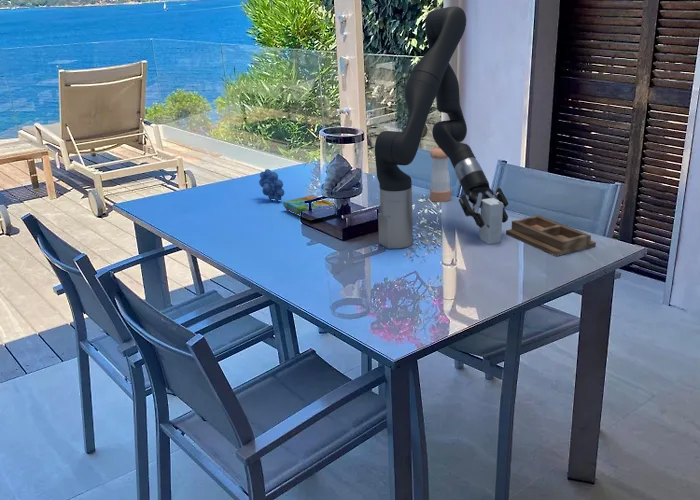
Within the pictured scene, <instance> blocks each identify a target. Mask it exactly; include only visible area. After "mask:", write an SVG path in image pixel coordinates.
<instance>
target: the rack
mask: <svg viewBox="0 0 700 500" xmlns="http://www.w3.org/2000/svg"><path fill="white" fill-rule="evenodd" d="M505 231H506V232H505V235H507V236H510V237H512V238H514V239H516V240H518V241H521V242H523V243H525V244H527V245H530V246H532V247H534V248H536V249H538V248H539V249H538V250H540V249H541V250H540V251H543V252H545V251H546V252H545V253H547V252H549V253H551V254H550V255H552V254H553V255H552V256H554V255H555V257H559V256H558V255H560V256H564V255H567V254H566V253H568V254H571V253H570V252H572V253H575V252H574V251H576V252H579V251H578V250H580V251H583V250H582V249H584V250H587V249H586V248H588V249H591V248H590V247H592V248H595V247H594V246H597V245H596V244H597V241H593V240H592V239H591V238H592V235H591V234H589V233H586V232H583V231H581V230H578V229H575V228H573V227H570V226H567V225H565V224H562V223H560V222H556V221H555V220H552V219H549V218H547V217H544V216H542V215H534V216H529V217H525V218H521V219H517V220H512V221H511V228H510V229H507V230H505ZM549 253H548V254H549ZM563 254H564V255H563Z"/></svg>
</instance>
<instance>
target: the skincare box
mask: <svg viewBox="0 0 700 500" xmlns="http://www.w3.org/2000/svg"><path fill="white" fill-rule="evenodd" d="M481 203H482V206H481V208H480V215H481V217H482V219H483V221H484V226H483V227H481V228H479V239H480V240H481V241H483V242H484V243H485V244H487V245H495V244H499V243H502V230H503V229H502V228H503V222H502V216H503V203H501V202H500V201H499V200H496V199H494V198H489V199H483V200H481Z"/></svg>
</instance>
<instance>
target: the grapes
mask: <svg viewBox="0 0 700 500" xmlns="http://www.w3.org/2000/svg"><path fill="white" fill-rule="evenodd" d="M259 177H260V179H259V181H258V184H259V186H260V187H262V191H261V192H262V194H263V195H264V196H266V197H267V198H268V199H275V201H276V200H281V201H282V197H283V196H284V195H285V190H284V189H283V187H284V182H283V181H282V180H281V179H279V174H278V173H277V172H275V171H271V169H270V168H266V169H265V170H264V171H261V172H260V174H259Z"/></svg>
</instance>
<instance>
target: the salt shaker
mask: <svg viewBox="0 0 700 500" xmlns="http://www.w3.org/2000/svg"><path fill="white" fill-rule="evenodd" d="M429 155H430V158H431V160H432V162H431V165H432V166H431V167H432V170H431V176H430V190H429V199H430V201H432V202H435V203H443V202H444V203H446V202H449V201H451V200H452V191H451V188H450V187H451V179H450V172H449V157H448V156H447V155H446V154H445V153H444V152H443V151H442V150H441V149H440V147H439V146H438V145H437V147H435V148H432V149H431V150H430V152H429Z"/></svg>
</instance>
